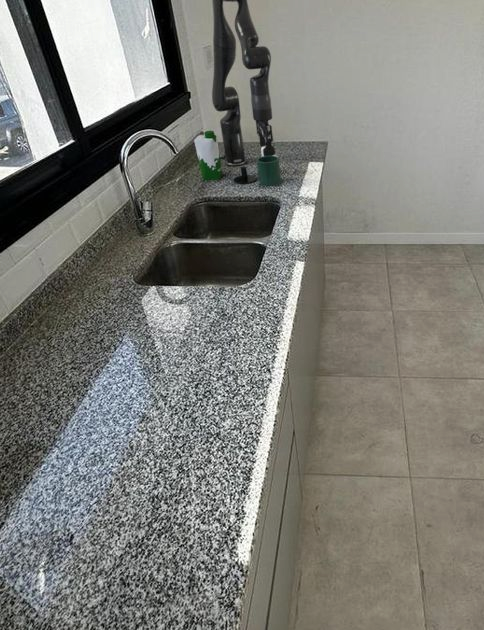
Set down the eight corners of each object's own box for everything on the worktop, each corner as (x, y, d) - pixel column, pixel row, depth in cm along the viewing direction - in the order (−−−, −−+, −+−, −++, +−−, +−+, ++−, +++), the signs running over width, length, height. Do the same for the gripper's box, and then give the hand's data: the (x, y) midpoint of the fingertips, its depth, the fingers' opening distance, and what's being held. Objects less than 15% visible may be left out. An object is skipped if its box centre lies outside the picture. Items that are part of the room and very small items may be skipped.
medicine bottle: (279, 171, 202) (277, 144, 194) (276, 176, 196) (274, 149, 189) (264, 171, 202) (261, 144, 195) (261, 176, 197) (257, 149, 189)
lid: (231, 180, 194) (229, 166, 191) (253, 176, 198) (251, 162, 194) (237, 187, 187) (234, 172, 183) (259, 183, 190) (257, 168, 186)
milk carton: (220, 181, 193) (211, 134, 181) (200, 182, 194) (190, 135, 182) (225, 175, 200) (217, 129, 188) (205, 175, 201) (196, 129, 189)
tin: (257, 182, 191) (254, 157, 185) (277, 178, 194) (274, 154, 188) (263, 189, 184) (260, 164, 178) (284, 185, 187) (281, 160, 181)
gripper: (276, 108, 166) (280, 152, 176) (265, 101, 177) (269, 143, 187) (257, 111, 164) (262, 155, 174) (247, 103, 174) (252, 145, 184)
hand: (266, 148), depth 180 cm, fingers open, 8 cm apart
